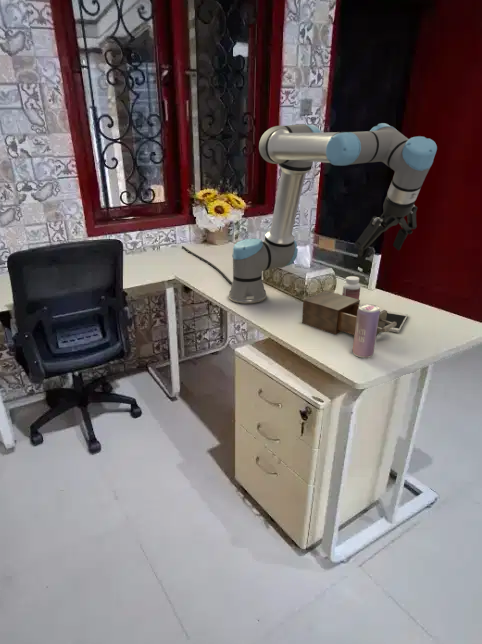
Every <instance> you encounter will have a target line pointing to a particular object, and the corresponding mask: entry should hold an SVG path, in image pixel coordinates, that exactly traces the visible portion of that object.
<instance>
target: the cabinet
mask: <svg viewBox="0 0 482 644" xmlns="http://www.w3.org/2000/svg"><path fill="white" fill-rule="evenodd" d="M302 301H303V302H302V316H301V324H303V325H307V326H310V327H312V328H315V329H318V330H320V331H324V332H326V333H330V334H333V335H334V336H335V335H338V334H340V333H343V331H340V330H338V322H339V312H341V311H343V310H345V309H347V308H349V307H351V306H353V305H355V304H358V305H361V304H360V302H361V299H360V298H359V299H355V298H351V297H347V296H344V295H342V294H340V293H336V292H332V291H328V290H324V291H321V292H319V293H317V294H314V295H312V296H309V297H307V298H305V299H303V300H302Z"/></svg>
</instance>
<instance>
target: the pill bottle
mask: <svg viewBox="0 0 482 644" xmlns="http://www.w3.org/2000/svg"><path fill="white" fill-rule="evenodd" d="M359 282H360V277H358V276H353V275H350V276H347V277H345V282H344V283H343V285H342V294H341V295H344V296H347V297H351V298H355V299H359V300H360V295H361V284H360V283H359Z"/></svg>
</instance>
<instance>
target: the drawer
mask: <svg viewBox="0 0 482 644" xmlns="http://www.w3.org/2000/svg"><path fill="white" fill-rule="evenodd" d="M360 305H361V304H359V305H358V304H355V305H353V306H351V307H349V308H347V309H345V310H343V311H341V312H339V322H338V330H340V331H342V333H346V334H349V335H352V336H354V334H355V326H356V318H357V310H358V308H359V306H360ZM387 311H388V310H386V309H383V310H381V311H380V314H379V320H378V327H377V334H376V336H377V335H378V334H380V333H386V332H387V331H388V330H389V329H391V328H393V327H394V326H396V325H397V323H396V322H389V321H386V316H387ZM385 323H388V324H389V325H387V326H385ZM388 332H389V331H388Z"/></svg>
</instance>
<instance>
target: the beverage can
mask: <svg viewBox="0 0 482 644" xmlns="http://www.w3.org/2000/svg"><path fill="white" fill-rule="evenodd" d="M359 305H360V306H359V308H358V310H357V318H356V326H355V334H354V335H353V342H352V353H353V355H354V356H355V357H358V358H362V359H368V358H371V357H372V356H373V355H374V354H375V345H376V340H377V335H378V334H377V327H378V320H379V314H380V312H381V311H380V307H379V306H377V305H376V304H370V303H363V304H359ZM376 334H377V335H376Z"/></svg>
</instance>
